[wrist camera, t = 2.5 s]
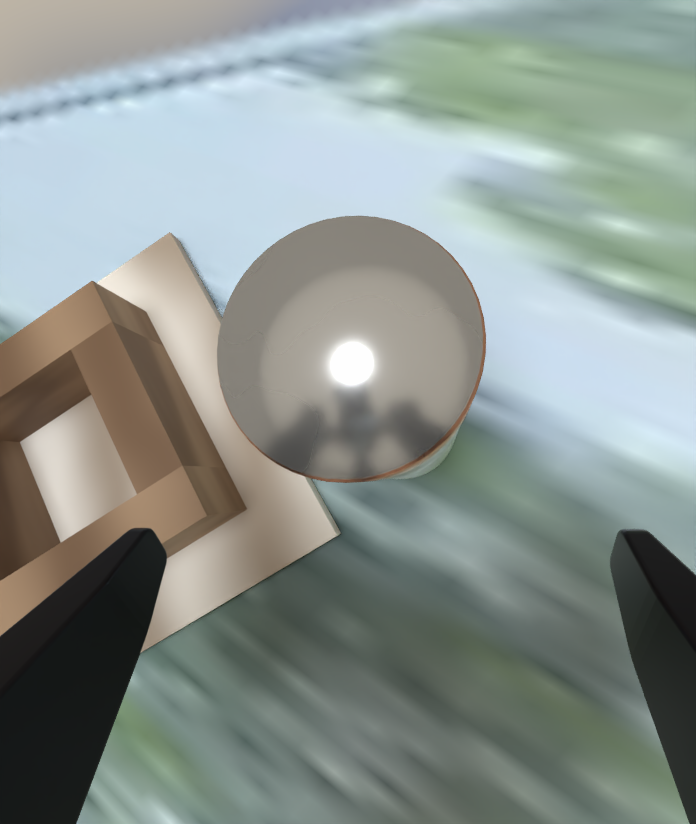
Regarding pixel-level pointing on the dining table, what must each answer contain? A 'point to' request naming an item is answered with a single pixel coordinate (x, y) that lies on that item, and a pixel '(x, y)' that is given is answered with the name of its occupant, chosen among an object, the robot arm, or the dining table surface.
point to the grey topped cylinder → (352, 351)
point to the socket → (138, 449)
